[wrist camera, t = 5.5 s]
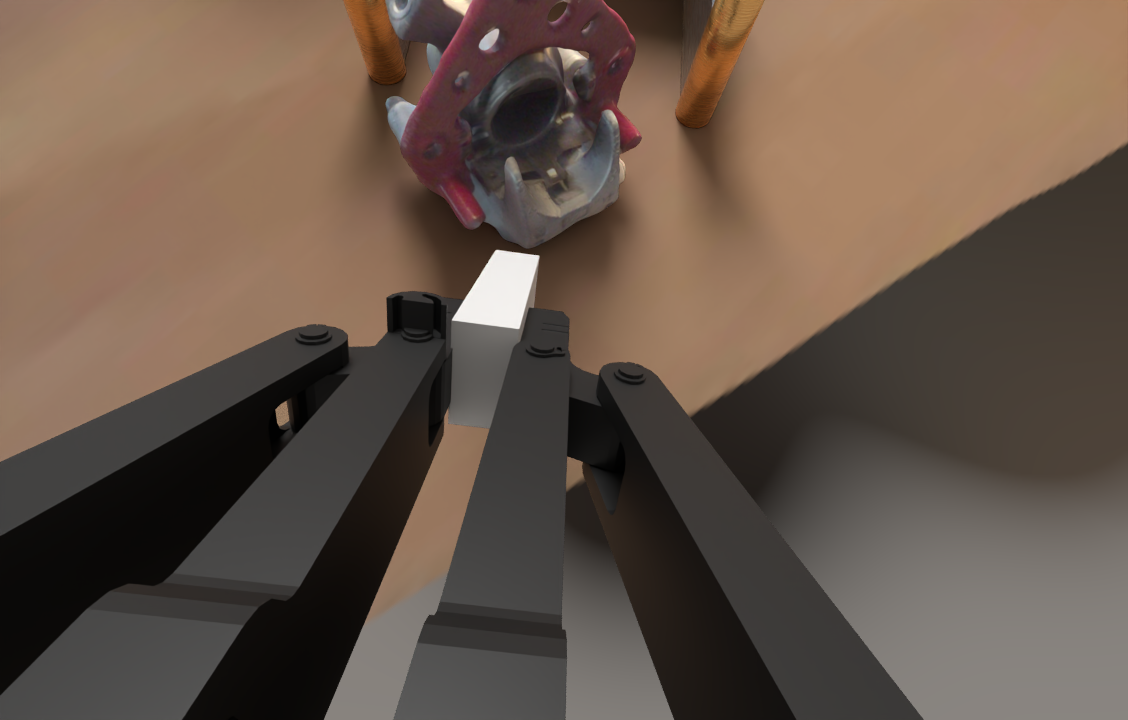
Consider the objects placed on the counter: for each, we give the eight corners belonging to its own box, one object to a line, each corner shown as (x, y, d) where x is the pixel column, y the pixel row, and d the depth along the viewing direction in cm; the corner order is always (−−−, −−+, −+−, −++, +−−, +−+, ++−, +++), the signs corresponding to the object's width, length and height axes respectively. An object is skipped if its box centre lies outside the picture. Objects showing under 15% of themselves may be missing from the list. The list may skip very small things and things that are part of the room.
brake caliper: (497, 315, 20) (329, -52, 13) (424, 244, 28) (297, -3, 21) (707, 196, 23) (669, -164, 15) (584, 163, 31) (522, -82, 24)
